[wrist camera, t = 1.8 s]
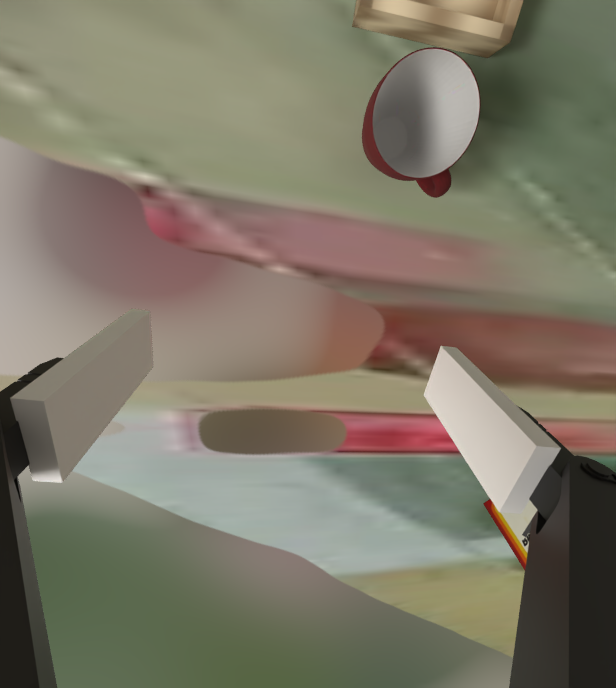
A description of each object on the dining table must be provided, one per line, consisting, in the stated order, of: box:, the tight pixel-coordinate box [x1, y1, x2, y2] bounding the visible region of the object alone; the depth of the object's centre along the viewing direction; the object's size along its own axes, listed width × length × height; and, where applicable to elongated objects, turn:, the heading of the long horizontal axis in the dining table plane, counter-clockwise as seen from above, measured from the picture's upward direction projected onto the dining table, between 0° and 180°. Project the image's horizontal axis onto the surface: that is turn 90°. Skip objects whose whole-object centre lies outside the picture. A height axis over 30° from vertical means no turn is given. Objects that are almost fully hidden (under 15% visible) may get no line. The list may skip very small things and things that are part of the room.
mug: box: [362, 47, 480, 198], centre depth 29 cm, size 10×8×10 cm
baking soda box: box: [483, 499, 537, 570], centre depth 48 cm, size 10×6×16 cm
